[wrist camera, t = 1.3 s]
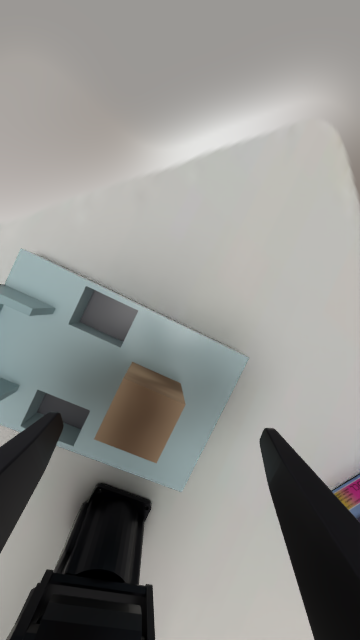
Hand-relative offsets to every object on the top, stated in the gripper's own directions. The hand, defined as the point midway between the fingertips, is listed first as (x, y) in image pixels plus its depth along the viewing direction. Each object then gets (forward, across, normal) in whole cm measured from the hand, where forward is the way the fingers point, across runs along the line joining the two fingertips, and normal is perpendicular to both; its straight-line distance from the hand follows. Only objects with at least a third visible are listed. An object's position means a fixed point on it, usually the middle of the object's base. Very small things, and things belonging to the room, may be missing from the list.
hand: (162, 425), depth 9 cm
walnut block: (+8, +2, +6) cm, 10 cm away
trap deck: (+10, +6, +6) cm, 13 cm away
